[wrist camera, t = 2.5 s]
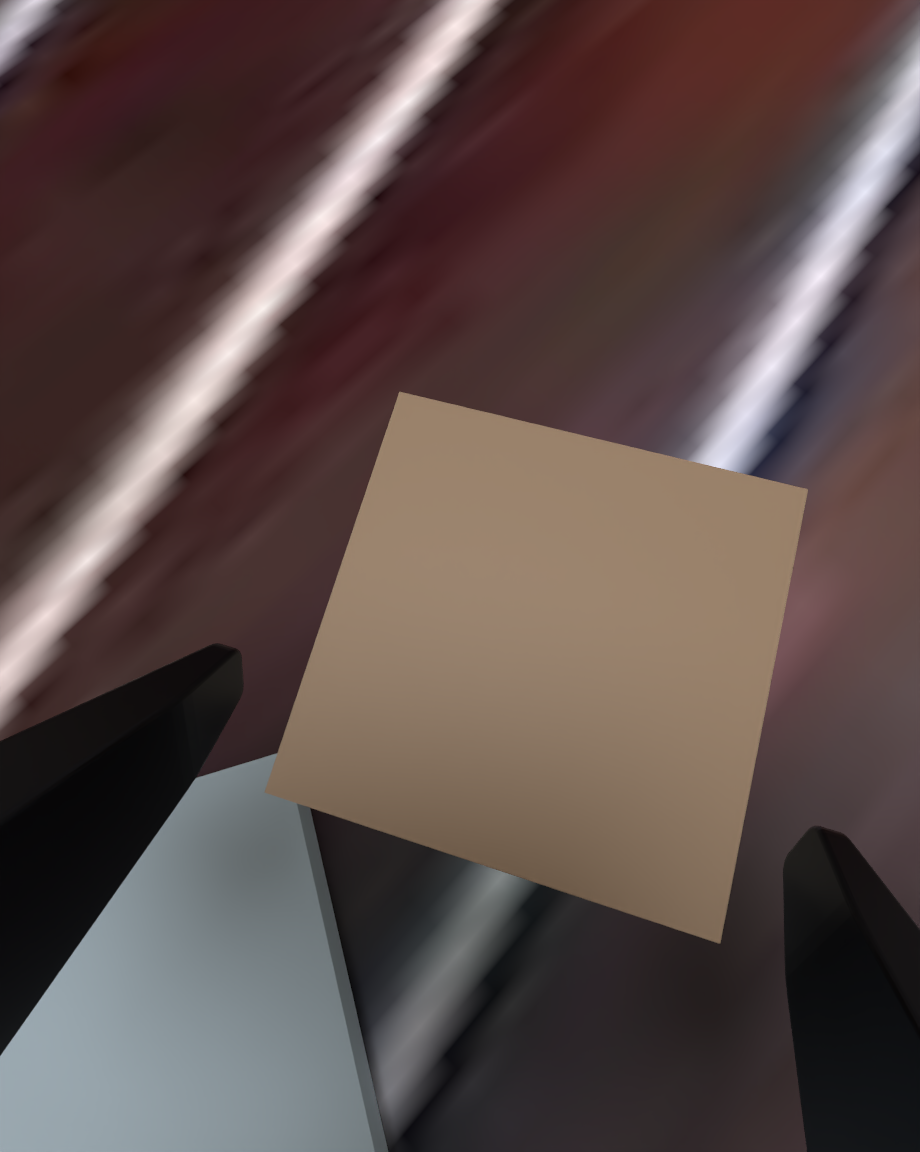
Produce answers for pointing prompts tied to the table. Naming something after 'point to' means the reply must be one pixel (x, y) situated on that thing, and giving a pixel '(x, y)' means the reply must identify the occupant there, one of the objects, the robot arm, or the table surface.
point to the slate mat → (202, 999)
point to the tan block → (549, 660)
